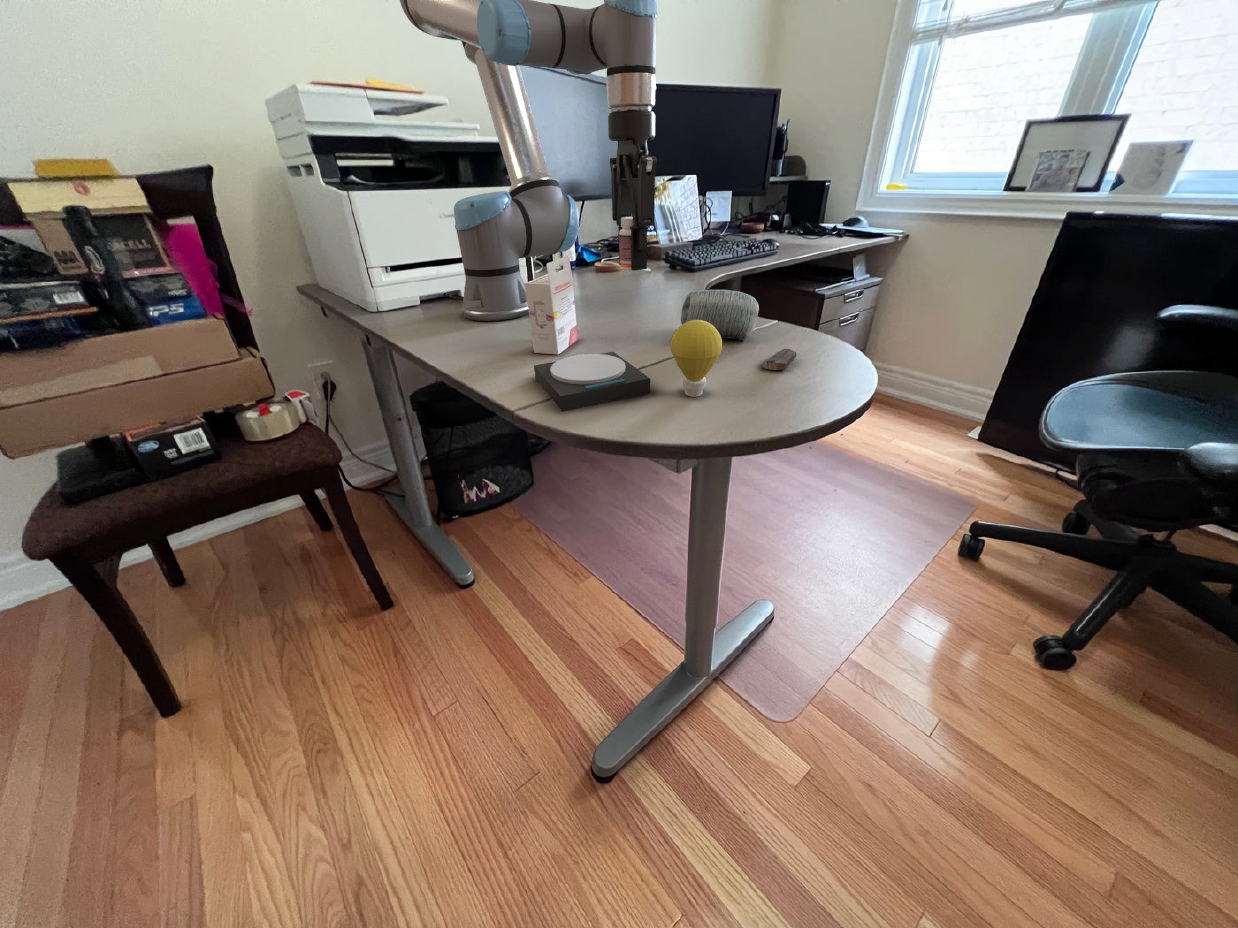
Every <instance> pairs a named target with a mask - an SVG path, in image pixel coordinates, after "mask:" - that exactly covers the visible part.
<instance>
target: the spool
mask: <svg viewBox="0 0 1238 928" xmlns="http://www.w3.org/2000/svg"><path fill="white" fill-rule="evenodd" d="M759 310H760V307H759V303H758V302H757V299H756V298H755V297H753V296H752V295H750V294H747V293H744V292H741V291H737V290H729V289H700V290H693V291H690V292H689V293H688V294H687V295H686V297H685V298H684V301H683V304H682V308H681V314H680V323H681V325H683V324H684V323H686V322H688V321H692V320H703V321H706V322H708V323H710V324H712V325H713V326H714V327H715V328H716V329H717V331H718V332H719V334H720V336H721V339H731V340H740V341H743V340H746V339H748V338H749V337H750V336H751V335H752V333H753V332H754V330H755V327H756V324H757V321H758V317H759V316H758V315H759Z"/></svg>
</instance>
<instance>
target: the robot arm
mask: <svg viewBox="0 0 1238 928" xmlns="http://www.w3.org/2000/svg"><path fill="white" fill-rule="evenodd" d="M399 3H400V6H401V9H402V12H403V13H404V15H405V16H406V18H407V19H408V20H409V22H410V23H411V24H412V25H413V26H414V27H415V28H416V29H417V30H419V31H421V32H422V33H424V34H427V35H429V36H432V37H436V38H440V39H447V40H452V41H453V40H454V41H460V42H461V44H462V47H463V51H464V54H465V57H466V58H467V60H468V61H469V62H471V63H472V64H474V65H476V68H477V72H478V76H479V79H480V82H481V86H482V89H483V92H484V96H485V100H486V103H487V106H488V109H489V113H490V116H491V117H490V118H491V120H492V123H493V127H494V130H495V133H496V137H497V140H498V144H499V147H500V150H501V154H502V157H503V161H504V164H505V167H506V172H507V174H508V179H509V182H510V184H511V186H510V188H509V190H508V191H506V190H500V191H492V192H483V193H479V194H475V195H471V196H470V195H469V196H467V197H464V198H461V199H458V200H457V201H456V202H455V203H454V206H453V215H454V223H455V224H454V228H455V231H456V235H457V239H458V244H459V250H460V255H461V261H462V266H463V273H464V277H465V282H464V290H463V297H462V296H456V295H452V294H451V293H449V294H446V293H444V294H443V293H442V296H447V297H448V298H449V299H451V300H458V301H462V307H461V308H462V313H463V317H465V318H466V319H468V320H473V321H477V322H478V321H479V322H480V321H481V322H496V321H507V320H513V319H517V318H521V317H524V316H526V315H529V311H528V305H527V297H526V291H525V285H524V283H525V282H524V280H523V279H524V278H523V277H522V274H521V268H520V259H526V258H532V257H539V256H547V255H556V254H558V253H559V254H560V253H564V252H566V251H568V250H570V249H571V248H572V247H573V246H574V245H575V243H576V241H577V238H578V233H579V230H580V213H579V209H578V206H577V203H576V201H575V199H574V198H573V197H572V196H571V195H569V194H567V193H563V192H562V189H561V184H560V182H559V180H558V179H557V178H556V177H554V176H552V175H551V174H550V171H549V168H548V163H547V160H546V157H545V153H544V150H543V146H542V141H541V139H540V135H539V132H538V128H537V124H536V120H535V116H534V113H533V110H532V106H531V102H530V98H529V95H528V91H527V89H526V83H525V81H524V77H523V73H522V70H521V67H523V66H524V67H537V68H548V69H554V70H555V69H556V70H564V71H565V70H566V71H567V72H568V73H569V74H572V75H585V76H586V75H592V74H593V73H595V72H598V71H603V70H606V78H605V79H606V106H607V108H608V109H609V110H610V113H608V115H607V133H608V134H607V135H608V136H607V137H608V139H609V140H610V141H611V142H617V147H616V156H615V157H610V158H609V168H610V169H609V170H610V177H611V178H610V180H611V214H612V215H611V216H612V221H613V222H615V224H616V226H617V229H618V231H617V232H618V236H619V232H620V230H621V229H622V227H621V218H623V217H633V225H634V226H631V227H630V230H631V270H633V272H635V271H642V270H648V230H649V229H650V227H653V226H654V225H655V211H656V210H655V209H656V208H655V203H656V202H655V201H656V199H655V198H656V172H657V171H656V170H657V165H658V158H657V157H656V156H650V155H649V150H648V144H647V141H652V140H654V139H655V136H656V114H655V112H654V111H652V109H653V108H654V107H655V106H656V92H657V89H658V87H657V85H656V71H657V70H656V68H657V67H656V66H657V62H656V61H657V22H658V21H657V18H658V15H659V14H658V11H657V9H658V8H657V5H658V4H657V0H603V3H602V4H600V5H597V6H595V7H592V8H579V7H574V6H569V5H568V6H567V5H561V4H555V3H549V2H547V3H546V2H543V1H537V0H399ZM618 265H619V266H620V249H619V248H618ZM634 270H635V271H634Z"/></svg>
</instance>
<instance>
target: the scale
mask: <svg viewBox="0 0 1238 928" xmlns="http://www.w3.org/2000/svg"><path fill="white" fill-rule="evenodd" d="M533 369H534V377H535V380H536V382H538V384H539V385H540V386H541V388H543V391H544V392H546V394H547V395H548V396H549V398H551V400H552V401H553V403H555V405H556V406H557V408H559V410H560V411H561V412H566V411H570V410H576V409H579V408H583V407H584V408H586V407H589V406H594V405H595V406H596V405H600V404H604V403H609V402H614V401H618V400H619V401H620V400H623V399H627V398H634V397H638V396H643V395H647V394H651V377H649V376H648V375H646V374H645V373H644V372H642V371H641V370H639V369H638V368H637V367H635V366H634V365H633V364H631V363H630V362H629V361H627V360H626V359H624V358H623V357H622V356H620V355H619V354H618V353H616V352H614V351H609V352H604V353H603V352H602V353H583V354H575V355H570V356H567V357H564V358H561V359H558V360H557V361H551V362H546V363H545V362H544V363H539V364H534V365H533Z"/></svg>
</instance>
